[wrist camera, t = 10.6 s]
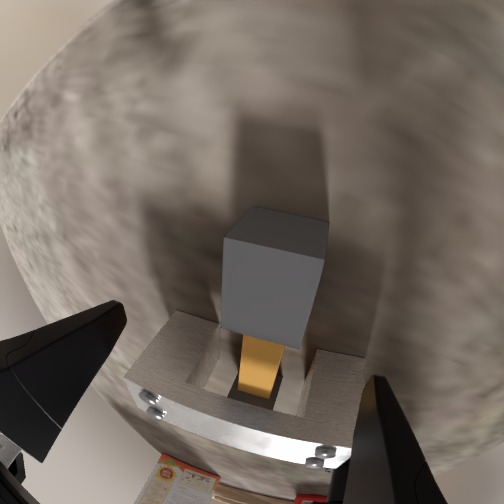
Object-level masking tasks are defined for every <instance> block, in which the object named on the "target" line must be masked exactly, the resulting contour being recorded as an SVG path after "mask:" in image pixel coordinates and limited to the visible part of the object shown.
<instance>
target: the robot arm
mask: <svg viewBox="0 0 504 504" xmlns="http://www.w3.org/2000/svg"><path fill="white" fill-rule="evenodd" d="M126 323H127V318H126V314H125V310H124V306H123V304H122V303H120V302H118V301H115V300H112V301H109V302H106V303H104V304H101V305H98V306H96V307H93V308H90V309H88V310H85V311H83V312H80V313H77V314H75V315H72V316H69V317H67V318H64V319H62V320H59V321H56V322H54V323H51V324H48V325H46V326H44V327H41V328H38V329H36V330H33V331H30V332H28V333H25V334H22V335H19V336H16V337H13V338H10V339H6V340H2V341H0V504H40V503H39V502H38V501H37V500H36V499H35V498H34V497H33V496H32V495H31V494H30V493H29V492H28V491H27V490H26V489H25V488H24V487H23V486H22V485H21V484H22V482H23V481H24V479H25V478H26V476H25V469H24V461H23V454H22V453H21V452H20V451H21V450H23V451H25V452H26V453H28V454H29V455H30V456H32V457H33V458H35V459H36V460H38V461H39V462H41V463H43V461H44V460H45V458H46V456H47V454H48V452H49V450H50V449H51V447H52V445H53V444H54V442H55V440H56V438H57V436H58V435H59V433H60V431H61V430H62V428H63V426H64V425H65V423H66V421H67V420H68V418H69V416H70V414H71V413H72V411H73V410H74V408H75V407H76V405H77V403H78V402H79V400H80V398H81V397H82V396H83V394H84V392H85V391H86V389H87V388H88V386H89V385H90V383H91V382H92V380H93V379H94V377H95V376H96V374H97V373H98V371H99V370H100V368H101V367H102V365H103V364H104V362H105V361H106V359H107V358H108V356H109V354H110V353H111V351H112V349H113V347H114V345H115V344H116V342H117V340H118V338H119V336H120V335H121V333H122V331H123V329H124V327H125V326H126ZM425 460H426V459H425V457H424V455H423V453H422V450H421V448H420V446H419V444H418V442H417V440H416V437H415V435H414V433H413V431H412V429H411V427H410V425H409V423H408V421H407V419H406V417H405V415H404V413H403V410H402V408H401V406H400V404H399V403H398V401H397V399H396V397H395V395H394V393H393V391H392V389H391V387H390V385H389V383H388V381H387V379H386V378H385V377H384V376H380V375H373V376H372V377H371V378H370V380H369V381H368V383H367V384H366V386H365V387H364V389H363V391H362V394H361V399H360V405H359V410H358V415H357V420H356V424H355V429H354V434H353V442H352V450H351V458H349V459H348V460H346V461H345V462H344V463H342V464H341V465H340V466H339V467H337V468H336V469H335V468H326V471H325V472H328V473H332V478H331V483H330V488H329V492H328V496H327V501H326V502H317V501H313V502H312V503H310V504H448V503H447V502H446V500H445V498H444V496H443V494H442V493H441V491H440V489H439V487H438V485H437V483H436V482H435V479H434V477H433V475H432V473H431V470H430V468H429V466H428V464H427V462H426V461H425Z"/></svg>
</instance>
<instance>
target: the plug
mask: <svg viewBox="0 0 504 504" xmlns="http://www.w3.org/2000/svg"><path fill="white" fill-rule="evenodd" d="M328 230H329V222H327V221H322V220H318V219H313V218H308V217H304V216H299V215H294V214H289V213H284V212H280V211H275V210H269V209H264V208H259V207H254V206H253V207H252V208H251V209H250V210H249V211H248V212H247V213H246V214H245V215H244V216H243V217H242V219H241V220H240V221H239V222H238V223H237V224H236V225H235V226H234V227H233V228H232V229H231V230H230V231H229V232H228V233H227V235H226V236H225V237H224V246H223V269H222V296H221V328H223V329H226V330H230V331H233V332H236V333H240V334H243V344H242V353H241V363H240V370H239V372H238V374H237V376H236V379H235V381H234V383H233V385H232V387H231V390H230V392H229V394H228V396H227V397H228V398H231V399H234V400H237V401H240V402H244V403H247V404H251V405H254V406H258V407H261V408H265V409H269V410H273V407H274V404H275V401H276V398H277V394H278V391H279V388H280V384H281V381H282V378H283V376H279V375H277V372H278V368H279V365H280V361H281V358H282V354H283V350H284V347H285V346H288V347H293V348H297V349H299V348H300V345H301V342H302V339H303V336H304V333H305V330H306V326H307V323H308V320H309V316H310V313H311V310H312V306H313V303H314V299H315V296H316V292H317V289H318V285H319V281H320V278H321V274H322V270H323V266H324V262H325V257H326V248H327V239H328Z"/></svg>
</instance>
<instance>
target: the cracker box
mask: <svg viewBox="0 0 504 504" xmlns="http://www.w3.org/2000/svg"><path fill="white" fill-rule="evenodd" d="M219 480H220V477H219V476H216V475H213V474H211V473H208V472H205V471H203V470H200V469H197V468H195V467H192V466H190V465H188V464H185V463H183V462H181V461H179V460H177V459H174V458H172V457H170V456H168V455H166V454H162V455H161V457H160V459H159V461H158V462H157V464H156V466H155V468H154V469H153V471H152V473H151V475H150V476H149V478H148V480H147V482H146V484H145V485H144V487H143V489H142V491H141V492H140V494H139V496H138V498H137V499H136V501H135V503H134V504H209V503H210V501H211V499H212V496H213V494H214V492H215V490H216V487H217V485H218V483H219Z"/></svg>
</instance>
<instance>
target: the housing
mask: <svg viewBox="0 0 504 504" xmlns="http://www.w3.org/2000/svg"><path fill="white" fill-rule="evenodd" d="M219 358H220V324H219V323H215V322H212V321H209V320H206V319H202V318H199V317H196V316H193V315H190V314H187V313H184V312H181V311H178V310H176V311H175V312H174V314H173V315H172V316H171V317H170V319H169V320H168V321H167V322H166V324H165V325H164V326H163V327H162V329H161V330H160V331H159V332H158V334H157V335H156V336H155V337H154V339H153V340H152V341H151V342H150V344H149V345H148V346H147V348H146V349H145V350H144V351H143V353H142V354H141V355H140V356H139V358H138V359H137V360H136V362H135V363H134V364H133V365H132V367H131V368H130V369H129V371H128V372H127V373H126V374H125V376H124V377H123V378H124V380H125V382H126V384H127V386H128V388H129V391H130V393H131V395H132V397H133V399H134V401H135V402H136V404H137V406H138V408H140V409H142V410H144V411H146V412H147V413H148V414H149V415H150V416H151V417H153V418H154V419H156V420H159V421H162V420H164V421H167V422H169V423H171V424H173V425H176V426H178V427H180V428H183V429H185V430H188V431H190V432H193V433H195V434H198V435H200V436H203V437H206V438H208V439H211V440H214V441H217V442H220V443H223V444H226V445H229V446H232V447H235V448H239V449H242V450H245V451H249V452H252V453H256V454H260V455H264V456H268V457H272V458H276V459H281V460H286V461H291V462H296V463H301V464H304V465H305V466H306V467H309V468H322V467H327V468H335V469H336V468H337V467H339V466H340V465H341V464H342V463H344V462H345V461H346V460H348V459H349V458H350V457H351V450H352V442H353V434H354V429H355V424H356V420H357V415H358V410H359V405H360V399H361V394H362V391H363V389H364V387H365V358H361V357H356V356H350V355H345V354H340V353H335V352H330V351H325V350H320V349H317V351H316V353H315V356H314V359H313V361H312V364H311V366H310V369H309V371H308V374H307V376H306V379H305V381H304V386H303V390H302V395H301V399H300V403H299V407H298V411H297V415H296V416H294V415H290V414H285V413H281V412H277V411H273V410H269V409H265V408H261V407H258V406H254V405H251V404H247V403H244V402H240V401H237V400H234V399H231V398H228V397H225V396H221V395H218V394H216V393H213V392H210V391H207V390H204V389H203V388H204V387H205V385H206V383H207V381H208V379H209V377H210V375H211V373H212V372H213V370H214V368H215V366H216V364H217V362H218V360H219Z"/></svg>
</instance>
